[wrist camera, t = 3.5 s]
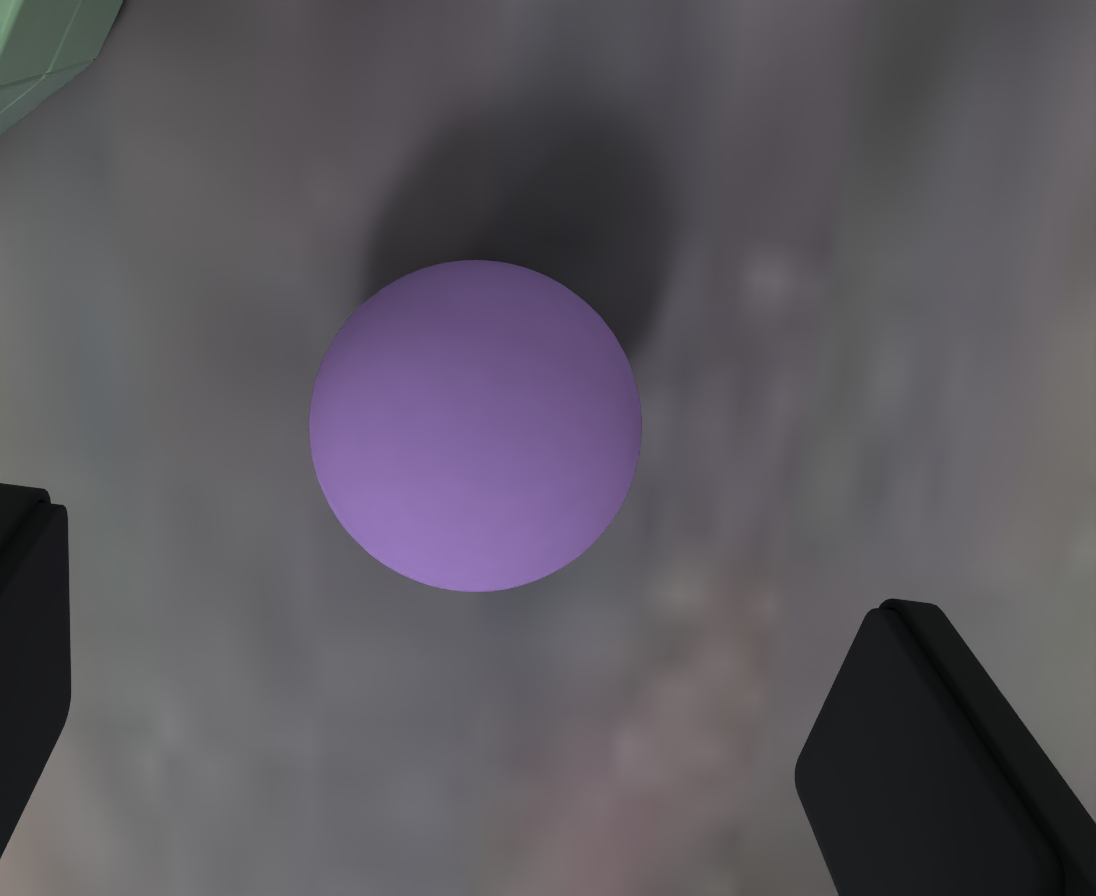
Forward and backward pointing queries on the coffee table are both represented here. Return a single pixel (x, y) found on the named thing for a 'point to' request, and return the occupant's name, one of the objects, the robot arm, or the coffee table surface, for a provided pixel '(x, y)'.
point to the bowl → (46, 48)
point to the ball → (475, 425)
